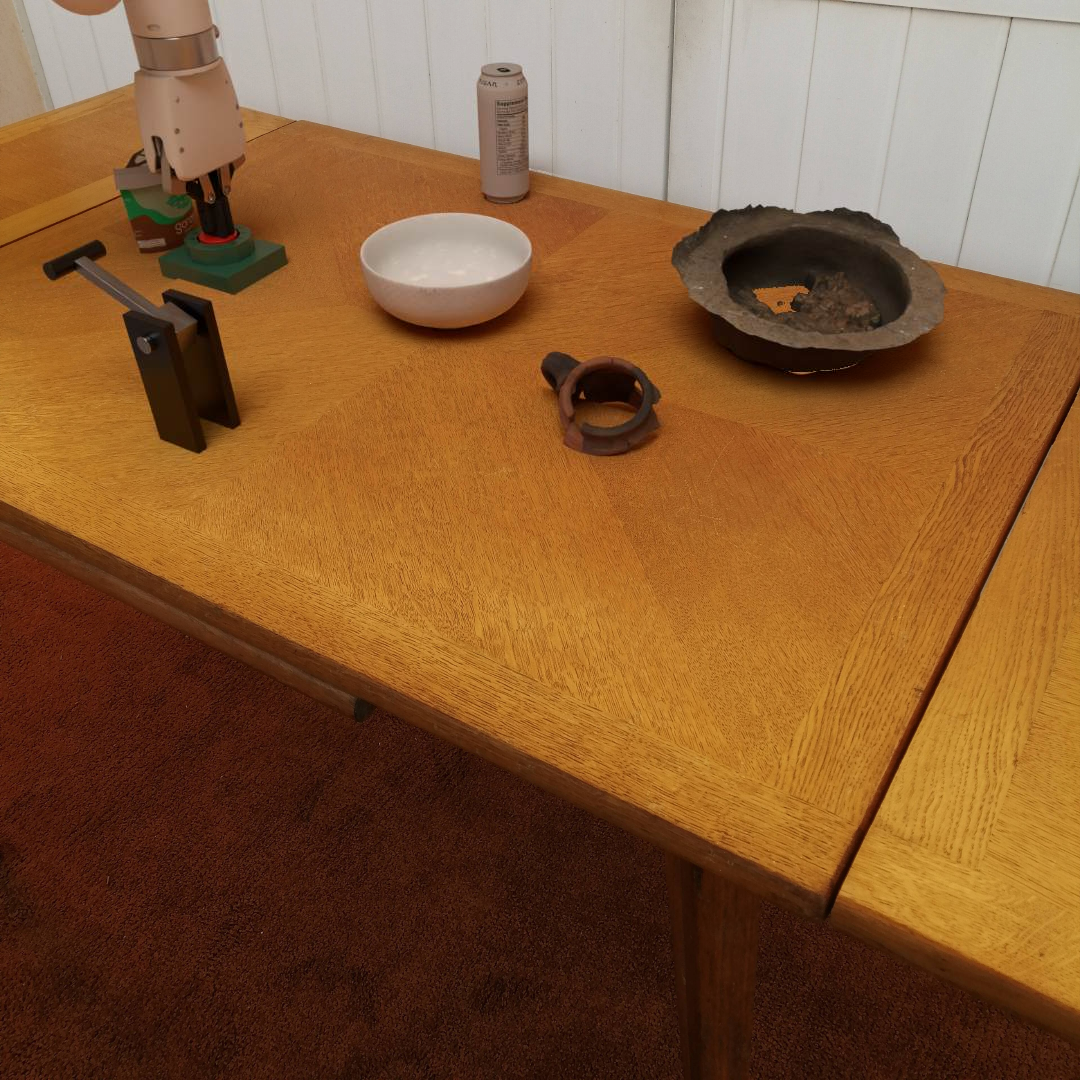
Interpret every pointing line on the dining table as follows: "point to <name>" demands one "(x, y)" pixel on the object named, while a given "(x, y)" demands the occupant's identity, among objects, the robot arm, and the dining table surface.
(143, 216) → the food container
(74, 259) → the lever
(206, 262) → the button box
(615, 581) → the dining table surface
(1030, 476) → the dining table surface
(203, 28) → the robot arm
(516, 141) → the energy drink can
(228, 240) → the button
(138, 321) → the bracket
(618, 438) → the pottery mug
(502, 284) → the cereal bowl
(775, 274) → the stone bowl
